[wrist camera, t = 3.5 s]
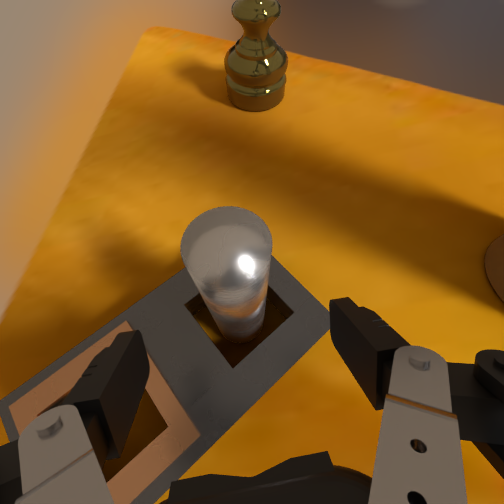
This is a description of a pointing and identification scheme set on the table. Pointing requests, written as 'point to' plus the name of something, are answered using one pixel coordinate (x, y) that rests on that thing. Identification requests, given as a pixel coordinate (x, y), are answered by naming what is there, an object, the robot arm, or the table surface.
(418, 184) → the table surface
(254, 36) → the bronze chess pawn
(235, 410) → the block with square holes
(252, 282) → the steel peg
